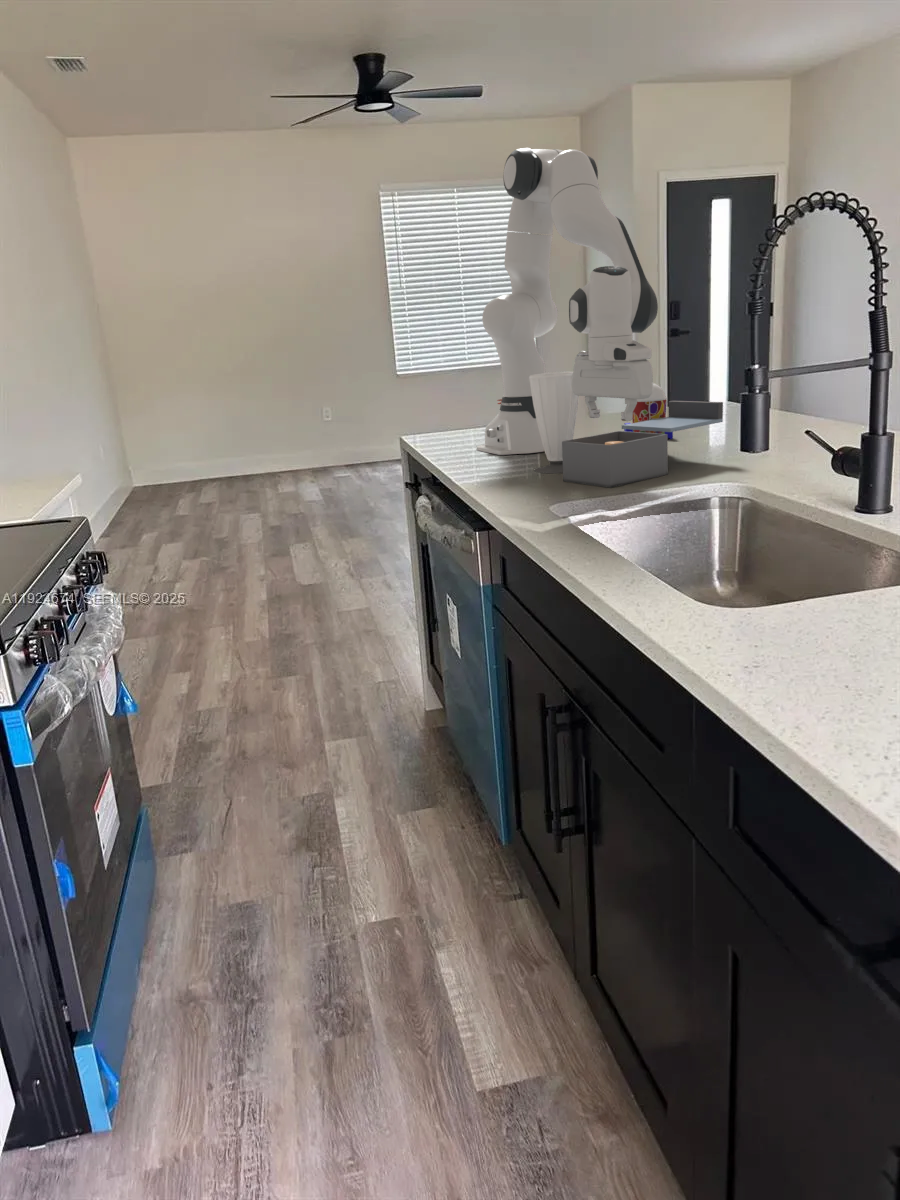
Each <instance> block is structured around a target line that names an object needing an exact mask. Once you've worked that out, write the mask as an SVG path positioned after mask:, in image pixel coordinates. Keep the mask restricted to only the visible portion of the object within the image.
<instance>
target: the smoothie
mask: <svg viewBox="0 0 900 1200" xmlns="http://www.w3.org/2000/svg"><path fill="white" fill-rule="evenodd" d="M667 399H668V397H667V395H666V393H665V391H664V389H663V388H662V387H661V386H660V385H659V384H657V383H655V382H653V390H652V393H651V395H650V397H649V398H645V399H637V405H636V407H635V409H634V411H633V412H632V420H631V421H632V423H637V422H643V421H648V420H654V419H659V418H665V417H667V402H668V400H667ZM633 432H642V433H657V434H665V432H661V431H645V430H633Z"/></svg>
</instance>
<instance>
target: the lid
mask: <svg viewBox="0 0 900 1200" xmlns="http://www.w3.org/2000/svg"><path fill="white" fill-rule="evenodd" d="M723 417H724V402H723V401H695V400H692V401H691V400H670V401H668V416H666V417H665V418H659V419H654V420H648V421H643V422H637V423H633V422H631V424H626V425H624V424H621V430H624V429H630V430H645V431H661V432H673V433H674V432H678V431H684V430H688V429H693V428H699V427H704V426H709V425H713V424H719V423H723V419H724V418H723Z"/></svg>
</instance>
